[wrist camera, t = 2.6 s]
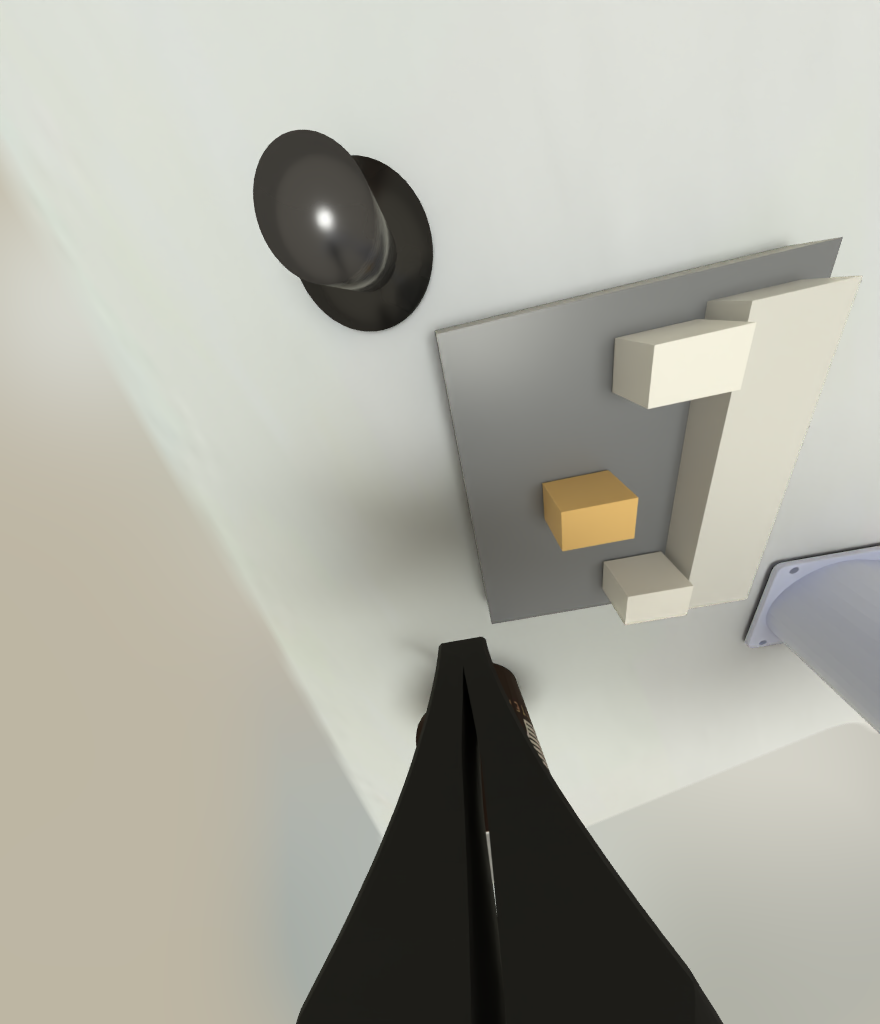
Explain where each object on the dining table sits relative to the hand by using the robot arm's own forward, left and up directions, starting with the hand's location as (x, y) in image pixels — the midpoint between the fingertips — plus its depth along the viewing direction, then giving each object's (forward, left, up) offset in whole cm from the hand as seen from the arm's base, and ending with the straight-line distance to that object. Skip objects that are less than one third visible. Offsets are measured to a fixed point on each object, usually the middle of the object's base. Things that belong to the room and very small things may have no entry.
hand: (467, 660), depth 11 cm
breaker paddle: (-6, 0, -7) cm, 10 cm away
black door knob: (+1, -11, -10) cm, 15 cm away
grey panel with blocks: (-8, 0, -10) cm, 12 cm away
